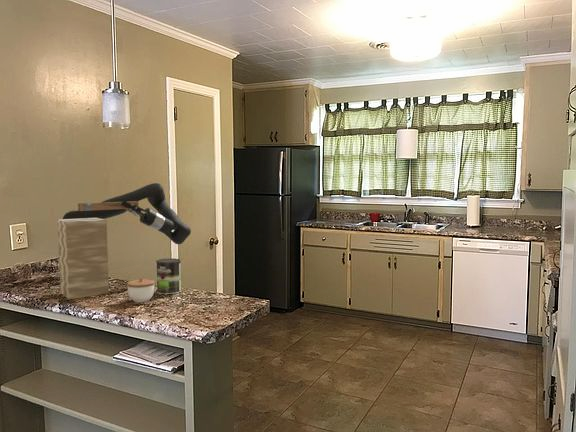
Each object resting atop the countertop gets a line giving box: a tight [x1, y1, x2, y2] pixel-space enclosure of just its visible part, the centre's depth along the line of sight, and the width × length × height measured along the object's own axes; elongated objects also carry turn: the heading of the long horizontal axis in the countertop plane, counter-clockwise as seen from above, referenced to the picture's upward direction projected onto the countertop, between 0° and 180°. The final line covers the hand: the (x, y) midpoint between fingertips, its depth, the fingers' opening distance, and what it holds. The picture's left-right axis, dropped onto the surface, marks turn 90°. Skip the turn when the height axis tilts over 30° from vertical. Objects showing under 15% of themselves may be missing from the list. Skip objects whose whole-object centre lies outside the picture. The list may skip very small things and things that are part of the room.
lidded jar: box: [126, 277, 156, 304], centre depth 190 cm, size 11×11×9 cm
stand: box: [57, 218, 110, 300], centre depth 202 cm, size 14×16×32 cm
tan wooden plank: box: [77, 201, 139, 211], centre depth 208 cm, size 5×25×3 cm, turn 129°
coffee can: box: [155, 257, 182, 296], centre depth 204 cm, size 10×10×14 cm
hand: (120, 202), depth 211 cm, fingers closed on tan wooden plank, 4 cm apart
